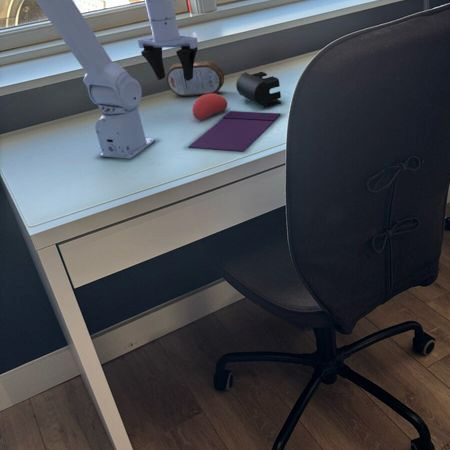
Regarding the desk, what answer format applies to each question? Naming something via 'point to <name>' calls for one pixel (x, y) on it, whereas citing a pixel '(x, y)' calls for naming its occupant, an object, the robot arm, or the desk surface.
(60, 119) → the desk surface
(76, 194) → the desk surface
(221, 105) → the red oval piece
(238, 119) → the cloth
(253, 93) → the end cap
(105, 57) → the robot arm
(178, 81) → the tin
